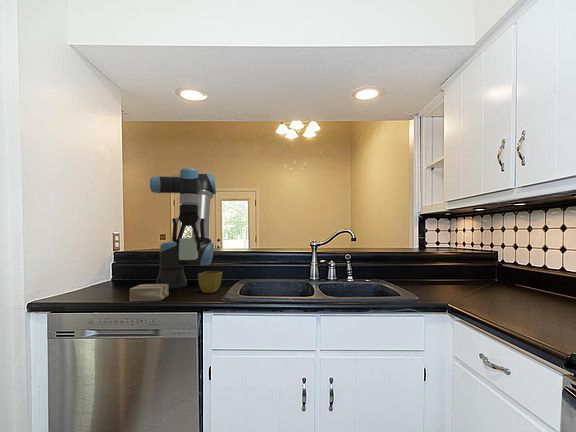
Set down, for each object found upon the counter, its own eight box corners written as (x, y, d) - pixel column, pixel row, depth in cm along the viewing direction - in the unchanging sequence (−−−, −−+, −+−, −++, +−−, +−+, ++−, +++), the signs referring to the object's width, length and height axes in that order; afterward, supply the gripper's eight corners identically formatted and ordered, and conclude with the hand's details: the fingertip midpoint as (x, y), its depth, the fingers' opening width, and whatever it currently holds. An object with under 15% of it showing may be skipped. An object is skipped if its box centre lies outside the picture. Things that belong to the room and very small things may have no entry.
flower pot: (215, 294, 153) (215, 274, 153) (197, 293, 154) (197, 273, 155) (222, 290, 161) (222, 271, 162) (205, 290, 163) (205, 271, 163)
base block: (140, 295, 150) (141, 284, 150) (168, 295, 150) (168, 283, 150) (129, 301, 138) (129, 288, 138) (159, 300, 138) (159, 288, 138)
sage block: (183, 258, 148) (183, 238, 149) (197, 258, 148) (197, 238, 149) (179, 259, 142) (179, 238, 143) (193, 259, 143) (194, 238, 143)
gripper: (163, 203, 142) (163, 259, 141) (209, 203, 143) (209, 258, 142) (169, 205, 150) (168, 257, 149) (212, 205, 151) (212, 257, 150)
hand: (188, 258), depth 145 cm, fingers closed on sage block, 6 cm apart
